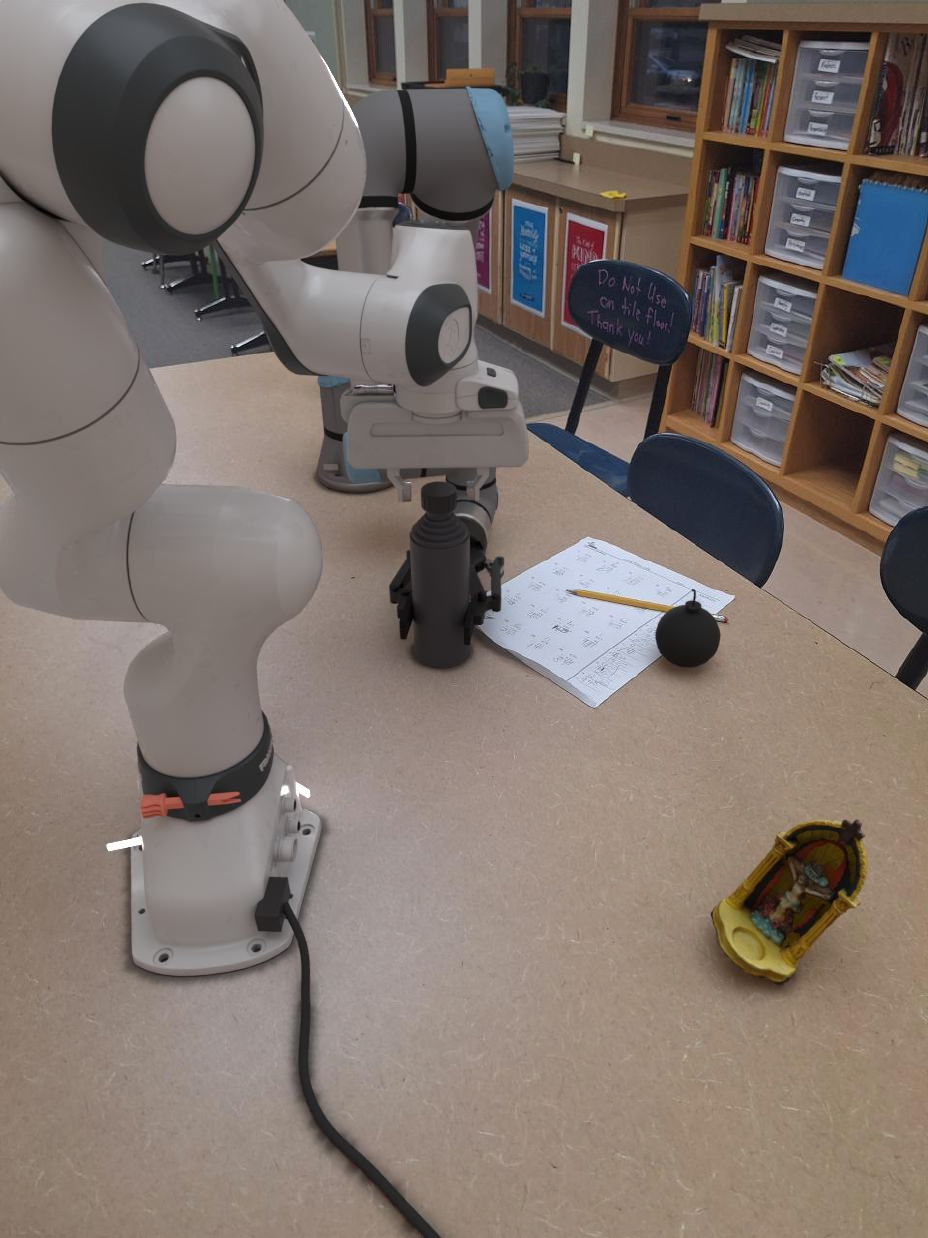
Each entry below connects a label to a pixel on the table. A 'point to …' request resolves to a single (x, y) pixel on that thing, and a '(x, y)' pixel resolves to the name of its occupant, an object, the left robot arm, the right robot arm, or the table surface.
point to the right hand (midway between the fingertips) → (434, 633)
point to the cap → (438, 497)
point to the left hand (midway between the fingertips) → (439, 499)
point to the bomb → (688, 635)
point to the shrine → (792, 897)
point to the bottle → (440, 588)
